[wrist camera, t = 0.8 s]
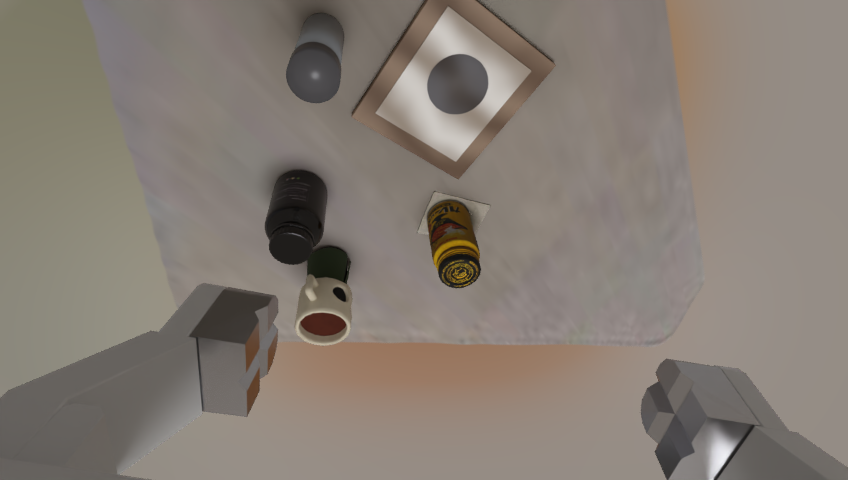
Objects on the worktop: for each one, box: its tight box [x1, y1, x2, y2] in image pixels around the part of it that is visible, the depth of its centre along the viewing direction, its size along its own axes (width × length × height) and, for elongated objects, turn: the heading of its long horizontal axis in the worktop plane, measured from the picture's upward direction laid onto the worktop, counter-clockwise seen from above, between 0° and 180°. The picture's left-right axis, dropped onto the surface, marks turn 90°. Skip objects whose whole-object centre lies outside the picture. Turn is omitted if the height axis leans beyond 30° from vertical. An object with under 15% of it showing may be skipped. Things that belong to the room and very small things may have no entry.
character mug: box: [295, 247, 352, 346], centre depth 67 cm, size 11×7×13 cm, turn 15°
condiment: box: [417, 192, 490, 288], centre depth 64 cm, size 7×8×12 cm
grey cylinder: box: [286, 13, 344, 103], centre depth 47 cm, size 5×5×12 cm
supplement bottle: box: [265, 171, 327, 265], centre depth 59 cm, size 7×7×12 cm
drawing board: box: [352, 0, 556, 179], centre depth 56 cm, size 18×16×1 cm
